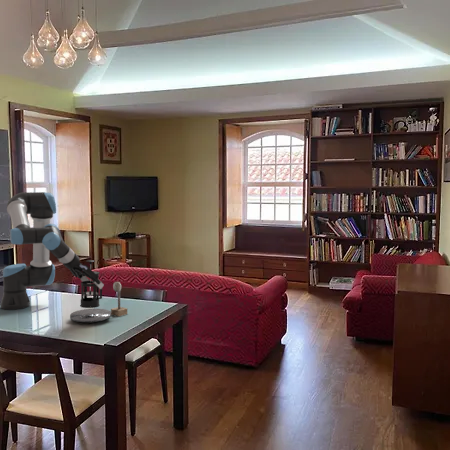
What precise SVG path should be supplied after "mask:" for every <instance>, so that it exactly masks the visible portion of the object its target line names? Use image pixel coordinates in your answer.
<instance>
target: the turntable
mask: <svg viewBox="0 0 450 450" xmlns="http://www.w3.org/2000/svg"><path fill="white" fill-rule="evenodd" d="M111 317H112V315H111V310H109V309H106V308H84V309H80V310H76V311H75V310H74V311H73V312H71V313H70V314H69V319H70V320H71V321H74V322H78V323H86V322H92V323H97V322H101V321H106V320H108V319H110V318H111Z"/></svg>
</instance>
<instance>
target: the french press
mask: <svg viewBox="0 0 450 450" xmlns="http://www.w3.org/2000/svg"><path fill="white" fill-rule="evenodd" d="M86 262H88V263H89V265H90V266H89V268H90V269H91V270H92V263H94V262H96V261H95V260H91V259H89V260H86ZM92 271H93V270H92ZM93 272H94V273H95V274H97V275H98V276H99V277H100V274H101V273H100V271H95V270H94V271H93ZM82 276H86V275H84V274H82ZM86 277H87V276H86ZM87 278H88V279H89V280H90V281H81V282H80V287H81V288H80V289H81V291H80V305H79V306H80V308H84V309H96V308H99V307H100V300H103V288H102V289H100V288H99V287H98V286H97V285H96V284H95V283H93V280H91V279H90V278H89V277H87ZM87 283H90V284H87ZM88 287H89V291H88ZM91 287H92V288H93V289H91Z"/></svg>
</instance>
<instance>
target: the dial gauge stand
mask: <svg viewBox="0 0 450 450" xmlns="http://www.w3.org/2000/svg"><path fill="white" fill-rule="evenodd" d="M112 287H113V291H115V292H117V307H113V308H111V309H110V311H111V316H115V317H122V316H125V315H128V308H127V307H122V306H121V291H122V284H121V282H120V281H114V283H113V285H112Z"/></svg>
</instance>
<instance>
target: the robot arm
mask: <svg viewBox="0 0 450 450" xmlns="http://www.w3.org/2000/svg"><path fill="white" fill-rule="evenodd" d="M56 204H57V203H56V200H55V195H54V194H53V193H51V192H45V191H43V192H41V191H39V192H34V191H31V192H30V191H29V192H28V191H27V192H24V191H23V192H19V193H17V194H14V195H13V196H12V197H10V199H9V200H8V202H7V204H6V212H7V214H8V215H9V216H10V219H11V220H10V221H11V224H12V228H11V229H10V232H9V237H10V243H11V244H12V245H19V246H20V245H33V246H32V253H33V254H32V260H31V261H30V263H29V265H26V263H16V264H11V265H8V266H5V267H4V268H3V272H2V278H3V285H2V286H3V295H2V298H1V301H0V309H1V310H6V311H7V310H9V311H11V310H21V309H26V308H28V307H30V306H31V300H30V298H29V295H28V292H27V288H29V287H41V286H44V287H45V286H50V285H52V284H53V283H54V281H55V277H56V268H55V267H56V266H55V264H53V262H52V260H50V253H51V254H52V255H53V257H55V258H56V259H57V260H58V262H59V263H61V264H62V266H64V267H65V268H67V270H69V271H70V272H71V273H72V275H73V276H74V277H75V278H77V279H79V280H80V281H81V282H83V281H90V279H91V281H93V283H92V284H96V285H97V286H98V287H99V290H100V289H102V290H103V287H104V285H105V284H104V283H103V281H102V280H100V279H99V278H100V275H99V276H98V275H97V274H95V273H94V272H93V270H92V268H91V269H90V266H88V265H87V264H83V263H82V262H80V261H81V260H80V257H79V256H78V254H76V252H74V250H73V249H72V248H71V247H70V246H69V245H68V244H67V243H66V242H65V241H64V239H63V237H62V234H61V230H60V228H59V227H58V226H57V225H56V224H54V223H51V220H52V219H53V217H54V214H56V213H57V205H56ZM28 215H30V218H31V220H33V225H32V227H31V225H30V221H29V217H28ZM82 274H84V275H86V276H82ZM88 277H89V278H88ZM87 284H90V283H87Z"/></svg>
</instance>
